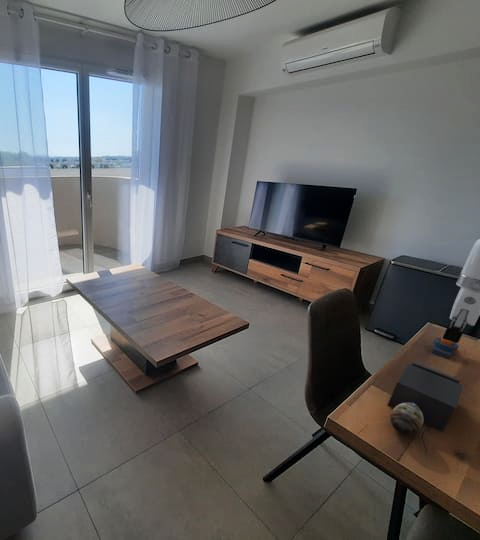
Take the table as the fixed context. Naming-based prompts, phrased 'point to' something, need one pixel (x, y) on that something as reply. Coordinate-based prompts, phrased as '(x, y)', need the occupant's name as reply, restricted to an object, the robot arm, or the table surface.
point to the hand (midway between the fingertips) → (450, 338)
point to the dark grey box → (427, 395)
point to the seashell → (407, 418)
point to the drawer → (436, 372)
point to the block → (444, 348)
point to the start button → (446, 342)
